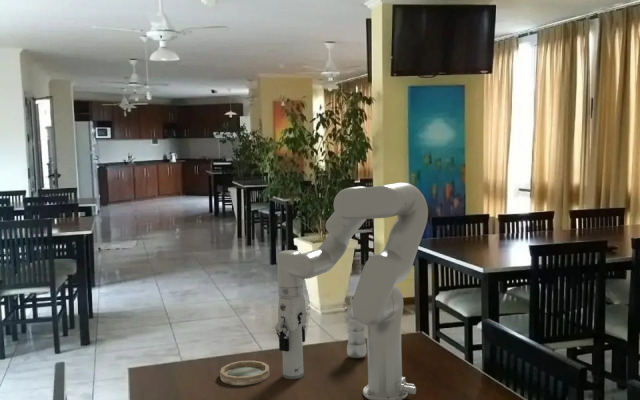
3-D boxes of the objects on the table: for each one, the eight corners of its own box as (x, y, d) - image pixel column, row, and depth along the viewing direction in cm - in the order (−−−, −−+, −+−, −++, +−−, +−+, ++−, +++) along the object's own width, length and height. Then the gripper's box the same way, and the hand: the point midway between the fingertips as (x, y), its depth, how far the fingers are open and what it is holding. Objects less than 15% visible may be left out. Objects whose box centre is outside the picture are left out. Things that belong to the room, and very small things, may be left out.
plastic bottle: (343, 356, 207) (341, 297, 205) (361, 352, 210) (359, 294, 208) (352, 361, 201) (350, 301, 200) (370, 358, 204) (369, 298, 202)
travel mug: (302, 380, 187) (299, 315, 185) (280, 379, 188) (278, 314, 186) (306, 372, 193) (304, 309, 191) (286, 371, 194) (283, 309, 192)
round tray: (278, 371, 195) (278, 364, 195) (251, 388, 182) (251, 380, 181) (239, 365, 202) (238, 358, 202) (210, 380, 188) (210, 373, 188)
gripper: (286, 298, 179) (288, 356, 180) (314, 286, 194) (316, 339, 196) (264, 296, 182) (267, 353, 184) (294, 284, 198) (295, 336, 199)
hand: (292, 345), depth 190 cm, fingers open, 9 cm apart
